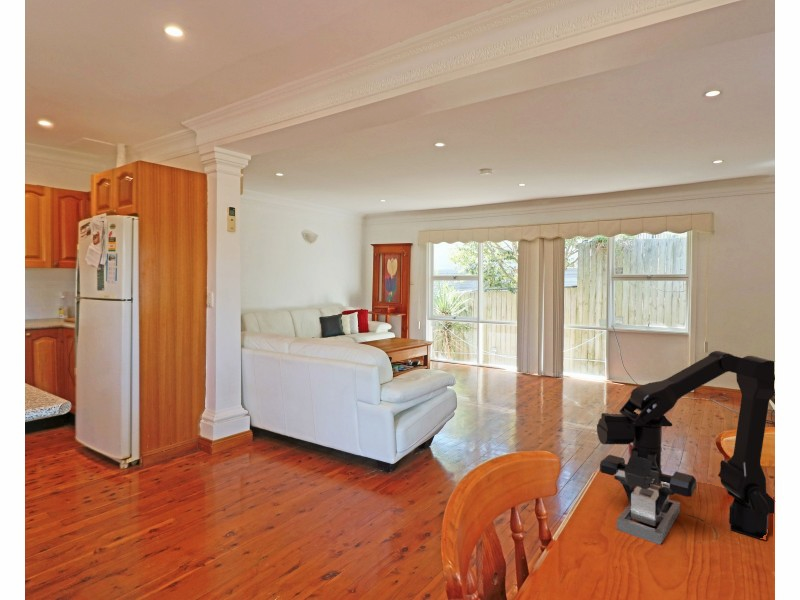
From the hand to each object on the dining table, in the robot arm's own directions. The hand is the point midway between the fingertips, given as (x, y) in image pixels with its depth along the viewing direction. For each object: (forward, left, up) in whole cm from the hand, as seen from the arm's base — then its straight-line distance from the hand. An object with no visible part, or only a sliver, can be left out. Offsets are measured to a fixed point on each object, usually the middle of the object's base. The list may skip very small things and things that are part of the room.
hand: (644, 510), depth 106 cm
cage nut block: (0, -1, -2) cm, 2 cm away
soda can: (+6, -22, -5) cm, 23 cm away
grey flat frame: (0, -5, -4) cm, 6 cm away
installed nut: (0, -9, -4) cm, 10 cm away
